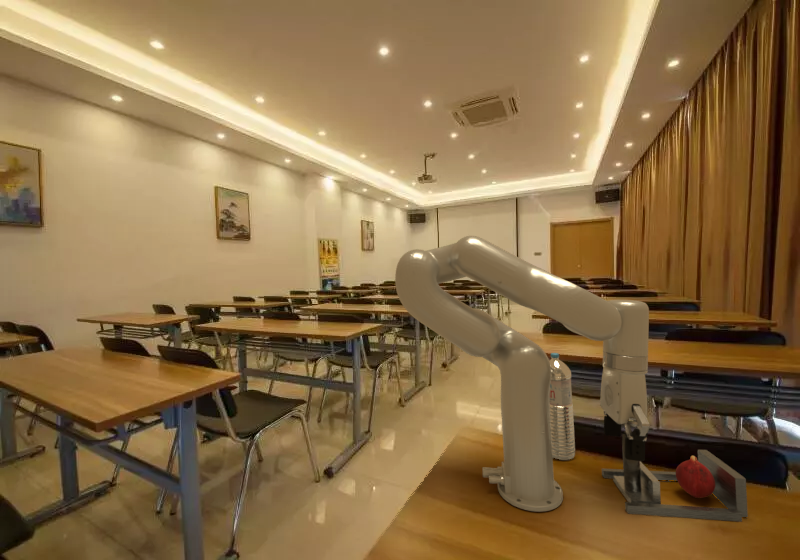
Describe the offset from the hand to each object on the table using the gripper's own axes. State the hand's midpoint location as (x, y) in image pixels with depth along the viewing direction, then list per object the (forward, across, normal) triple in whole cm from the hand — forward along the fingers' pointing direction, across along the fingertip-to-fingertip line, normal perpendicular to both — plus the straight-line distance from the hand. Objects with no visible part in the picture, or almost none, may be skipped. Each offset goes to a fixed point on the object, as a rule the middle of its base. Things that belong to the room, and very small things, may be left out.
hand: (622, 446), depth 68 cm
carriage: (+9, 0, +2) cm, 10 cm away
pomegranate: (+9, 0, +13) cm, 16 cm away
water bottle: (+10, -15, -8) cm, 20 cm away
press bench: (+9, 0, +8) cm, 12 cm away
